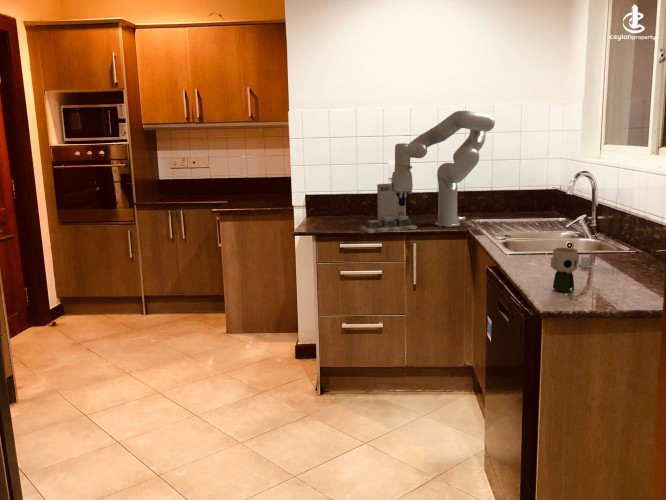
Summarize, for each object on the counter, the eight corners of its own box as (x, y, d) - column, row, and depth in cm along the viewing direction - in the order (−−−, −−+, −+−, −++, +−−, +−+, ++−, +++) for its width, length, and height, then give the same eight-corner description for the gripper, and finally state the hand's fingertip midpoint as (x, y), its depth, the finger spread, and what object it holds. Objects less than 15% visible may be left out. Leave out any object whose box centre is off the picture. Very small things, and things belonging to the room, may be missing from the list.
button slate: (390, 222, 315) (390, 216, 314) (394, 223, 311) (394, 217, 310) (382, 223, 313) (382, 217, 313) (386, 224, 309) (385, 218, 309)
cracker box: (401, 221, 336) (401, 182, 332) (406, 223, 331) (406, 183, 326) (377, 223, 333) (376, 183, 329) (381, 224, 327) (380, 184, 323)
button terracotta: (375, 225, 312) (375, 220, 312) (379, 227, 308) (379, 221, 308) (367, 226, 311) (367, 220, 310) (371, 227, 307) (371, 221, 306)
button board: (406, 225, 323) (406, 216, 322) (417, 228, 311) (417, 220, 311) (359, 229, 314) (359, 220, 313) (369, 233, 303) (368, 224, 302)
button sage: (404, 221, 318) (404, 215, 317) (408, 222, 313) (408, 216, 313) (396, 221, 316) (396, 215, 315) (400, 223, 312) (400, 217, 311)
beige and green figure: (558, 295, 189) (560, 253, 187) (541, 290, 196) (543, 249, 193) (585, 291, 194) (587, 249, 191) (568, 285, 200) (570, 246, 197)
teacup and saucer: (578, 265, 230) (578, 254, 229) (600, 268, 225) (601, 256, 224) (569, 269, 223) (570, 258, 222) (592, 272, 218) (593, 261, 217)
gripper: (412, 167, 315) (411, 204, 319) (385, 168, 310) (385, 205, 314) (419, 168, 308) (418, 205, 312) (391, 169, 303) (391, 207, 307)
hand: (401, 205), depth 313 cm, fingers closed
